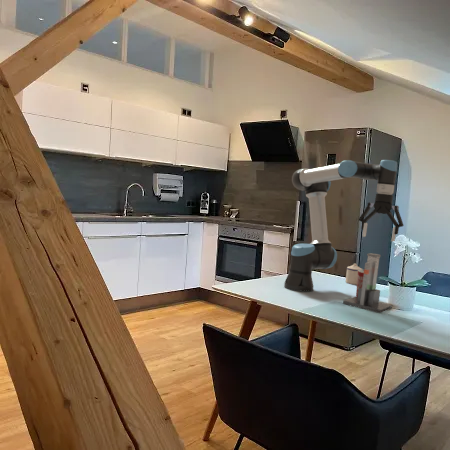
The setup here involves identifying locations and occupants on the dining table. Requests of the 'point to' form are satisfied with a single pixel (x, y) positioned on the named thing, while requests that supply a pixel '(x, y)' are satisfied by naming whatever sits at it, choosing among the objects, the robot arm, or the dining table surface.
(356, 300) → the stand
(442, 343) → the dining table surface
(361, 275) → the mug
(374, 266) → the column
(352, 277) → the teacup with lid
